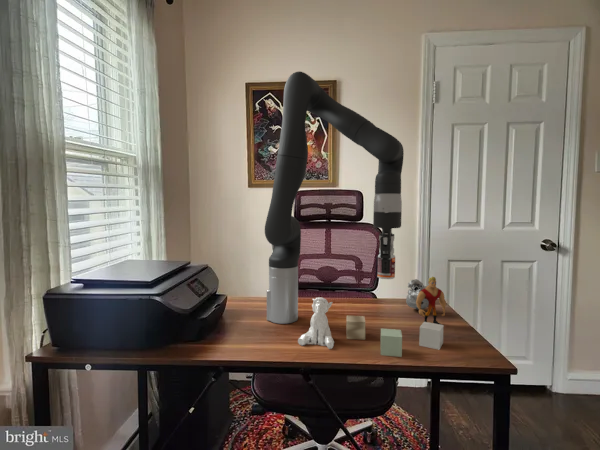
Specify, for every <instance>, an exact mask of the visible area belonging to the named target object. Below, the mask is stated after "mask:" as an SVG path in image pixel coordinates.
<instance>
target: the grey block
mask: <svg viewBox="0 0 600 450" xmlns="http://www.w3.org/2000/svg"><path fill="white" fill-rule="evenodd" d="M440 324H441V323H440ZM440 324H436V323H433V322H429V321H427V322H424V321H423V322H422V324H420V326H419V341H418V342H419V343H418V346H419V347H424V348H429V349H434V350H437V351H438V350H439V351H440V349H441V347H442V345H444V326H445V325H444V324H441V325H440Z"/></svg>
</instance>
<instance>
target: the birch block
mask: <svg viewBox="0 0 600 450" xmlns="http://www.w3.org/2000/svg"><path fill="white" fill-rule="evenodd" d="M345 325H346V327H345V328H346V329H345V331H346V334H345V335H346V340H361V341H362V340H366V318H365V315H346V324H345Z"/></svg>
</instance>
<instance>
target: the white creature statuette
mask: <svg viewBox="0 0 600 450" xmlns="http://www.w3.org/2000/svg"><path fill="white" fill-rule="evenodd" d="M311 299H312V301H313V302H312V304H311V307H312V312H313V315H312V316H311V318H310V321H309V322H310V323H309V324H310V327H309V328H308V331H307V332H306V333H303V334H301V335H300V336H299V337H298V339H297V344H298V345H300V346H303V347H304V346H306V345H311V346H312V345H318V346H324V347H326V348H327V349H328V350H332V349H333V348H334V345H335V341H334V338H333V337H332V331H331V329H330V326H329V321H328V320H329V319H328V317H327V314H326V313H327V312H328V311H329V309H330V308H331V307H332V305H333V301H330V302H328V299H326V298H324V297H320V296H318V297H315V298H311Z"/></svg>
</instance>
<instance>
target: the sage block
mask: <svg viewBox="0 0 600 450" xmlns="http://www.w3.org/2000/svg"><path fill="white" fill-rule="evenodd" d="M380 356H387V357H399V358H403V357H402V356H403V333H402V330H401V329H394V328H393V329H392V328H381V327H380Z"/></svg>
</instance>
